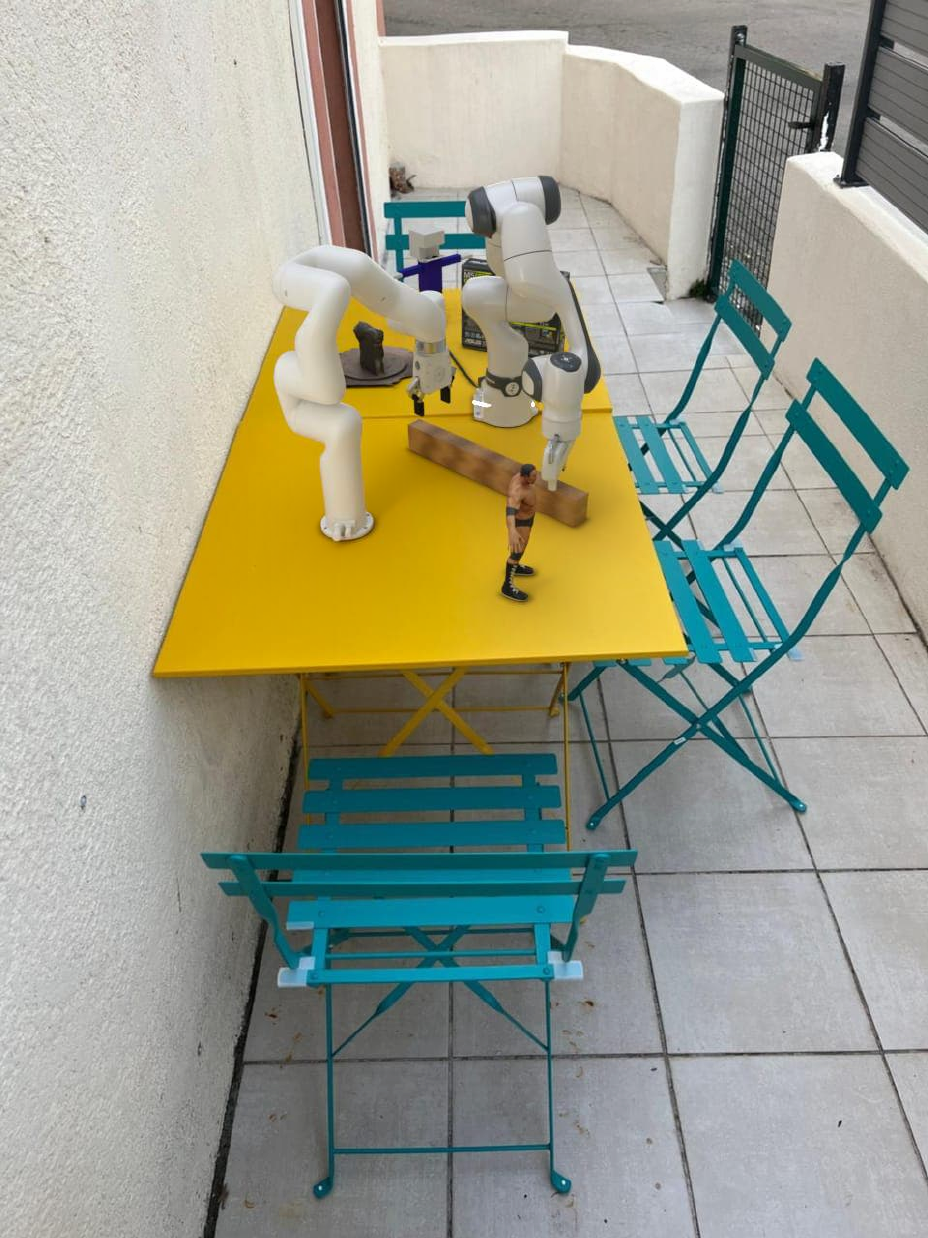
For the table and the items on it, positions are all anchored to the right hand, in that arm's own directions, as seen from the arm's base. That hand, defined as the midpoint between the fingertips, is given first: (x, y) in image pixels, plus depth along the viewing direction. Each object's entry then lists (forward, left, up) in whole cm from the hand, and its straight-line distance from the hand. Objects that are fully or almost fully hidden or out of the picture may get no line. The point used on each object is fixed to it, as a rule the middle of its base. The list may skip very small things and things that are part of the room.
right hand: (557, 479), depth 209 cm
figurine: (+25, -16, -10) cm, 31 cm away
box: (-94, +13, -10) cm, 96 cm away
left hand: (-34, -24, +4) cm, 41 cm away
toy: (-125, -9, -10) cm, 126 cm away
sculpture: (-91, -34, -10) cm, 98 cm away
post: (-17, -12, -10) cm, 23 cm away
